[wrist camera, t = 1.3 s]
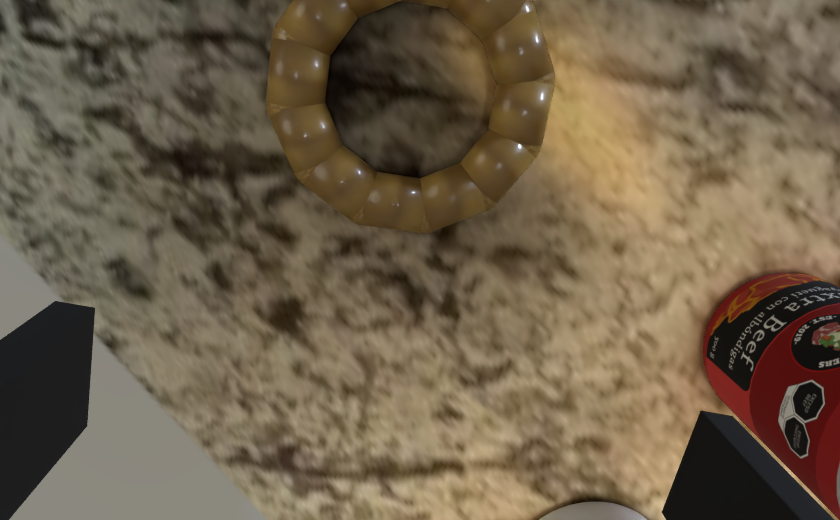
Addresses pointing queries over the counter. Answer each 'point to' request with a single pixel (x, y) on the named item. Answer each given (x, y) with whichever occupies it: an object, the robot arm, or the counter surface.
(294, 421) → the counter surface
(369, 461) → the counter surface
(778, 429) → the canned food
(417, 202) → the ring
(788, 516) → the robot arm
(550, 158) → the counter surface
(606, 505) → the fruit juice
